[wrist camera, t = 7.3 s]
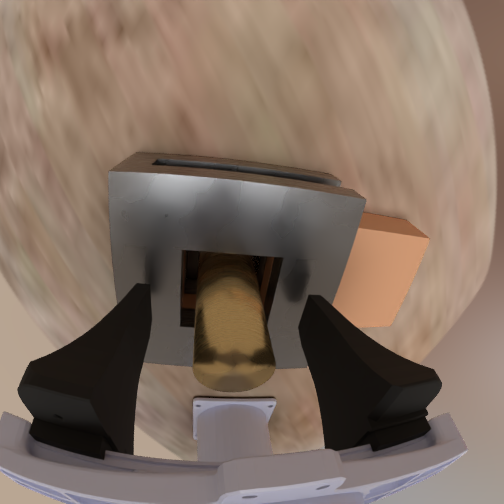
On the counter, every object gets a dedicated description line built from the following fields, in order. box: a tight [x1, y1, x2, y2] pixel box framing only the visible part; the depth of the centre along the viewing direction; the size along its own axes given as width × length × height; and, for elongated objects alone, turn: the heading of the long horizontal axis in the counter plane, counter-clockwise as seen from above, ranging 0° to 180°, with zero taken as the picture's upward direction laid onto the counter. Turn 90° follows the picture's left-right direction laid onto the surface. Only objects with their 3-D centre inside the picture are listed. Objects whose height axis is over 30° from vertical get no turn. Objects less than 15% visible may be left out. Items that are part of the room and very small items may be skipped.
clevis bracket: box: [109, 152, 366, 369], centre depth 16 cm, size 11×11×4 cm
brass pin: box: [193, 251, 276, 392], centre depth 14 cm, size 3×3×9 cm
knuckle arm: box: [182, 212, 430, 328], centre depth 17 cm, size 7×16×3 cm, turn 81°
